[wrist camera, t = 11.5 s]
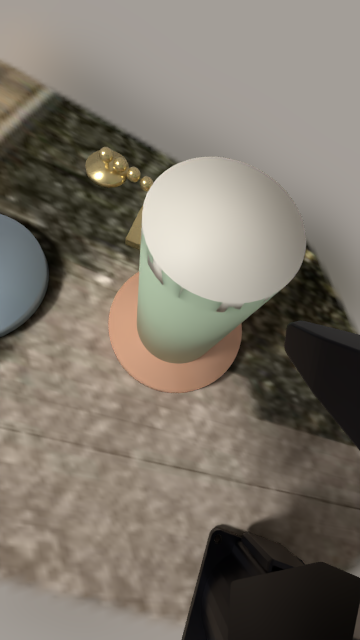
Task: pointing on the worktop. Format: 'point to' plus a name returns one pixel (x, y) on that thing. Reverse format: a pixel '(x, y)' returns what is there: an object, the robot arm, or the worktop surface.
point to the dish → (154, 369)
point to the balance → (117, 182)
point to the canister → (212, 253)
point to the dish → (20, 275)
